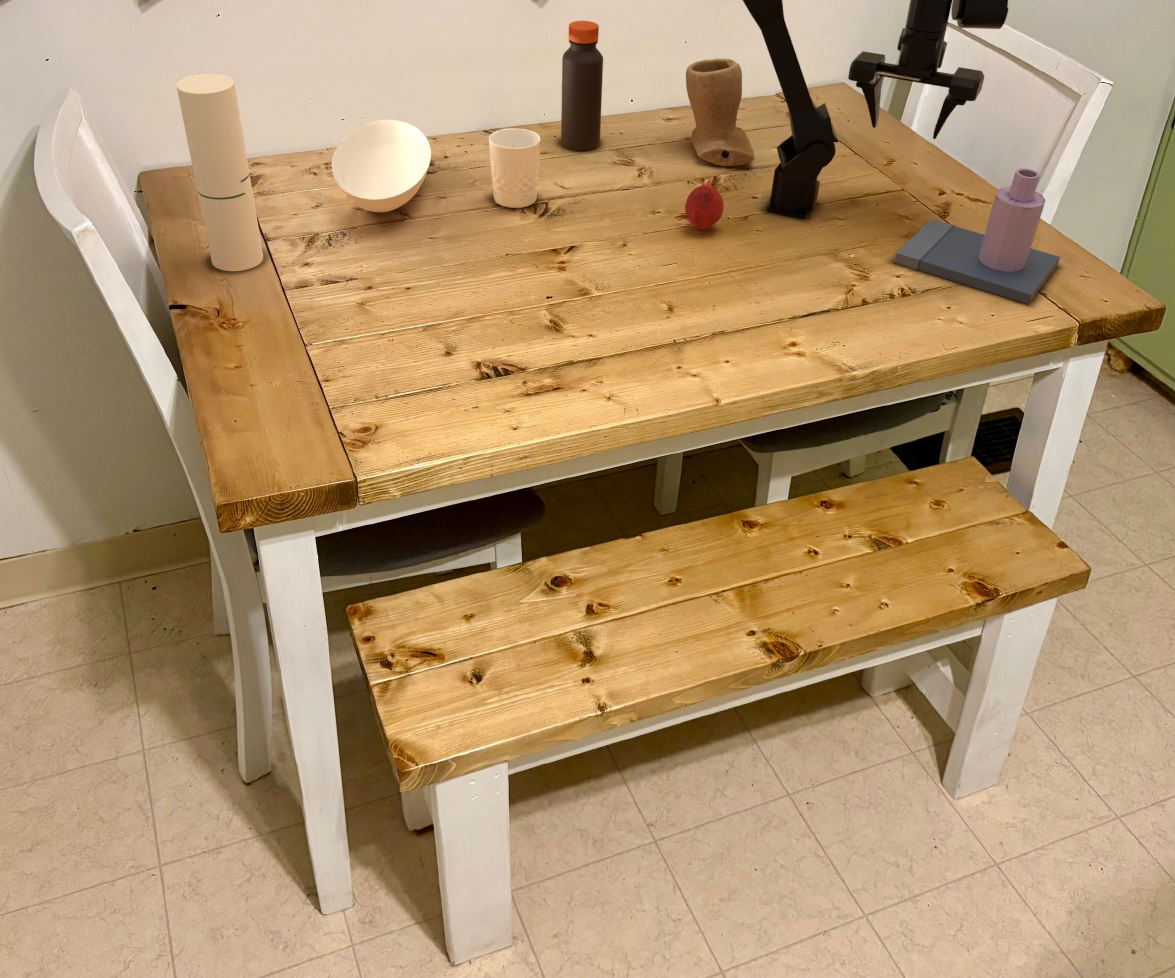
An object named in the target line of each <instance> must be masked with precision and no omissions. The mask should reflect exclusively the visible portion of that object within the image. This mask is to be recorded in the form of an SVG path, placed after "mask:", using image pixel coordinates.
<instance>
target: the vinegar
mask: <svg viewBox="0 0 1175 978" xmlns="http://www.w3.org/2000/svg"><path fill="white" fill-rule="evenodd" d="M599 29H600V26H599V24H598V23H596V22H594V21H591V20H575V21H572V22H570V23H569V24H568V43H569V45H570V47H568V48H567V50H565V52H564V53H563V55H562V62H561V64H562V65H561V66H562V67H561V117H560V118H561V122H560V129H561V130H560V142H561V144H562V146H563V147H565V148H567V149H569V150H573V151H584V152H585V151H591V150H594V149H596V148H597V147H598V146H599V145H600V143H601V124H602V103H603V102H602V100H603V99H602V97H603V77H604V76H603V75H604V73H603V72H604V56H603V54H602V53H601V51H600V50H599V49H598V48H597V44H598V43H599V35H600V33H599V31H600V30H599Z"/></svg>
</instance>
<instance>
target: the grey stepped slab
mask: <svg viewBox="0 0 1175 978" xmlns="http://www.w3.org/2000/svg"><path fill="white" fill-rule="evenodd" d="M984 235H985V233H980V232H977V231H974V230H971V229H967V228H963V227H960V226H956V225H955V224H951V223H948V222H945V221H941V220H938V219H934V218H930V220H928V221H927V222H926V223H925V224H924V225H923V226H922V227H921V228H920V229H919V230H918V231H917V232H916V233H915V234H914V235H913V236H912V237H911V238H910V239H909V240H908V241H907V242H906V243H905V244H904V245H903V246H902V247H901V248H900V249H899V250H898V251H897V252H896V253H895V258H894V263H895V264H897V265H900V266H903V267H907V268H911V269H913V270H915V271H916V270H917V271H920V272H923V273H927V274H930V275H933V276H935V277H939V278H943V279H946V280H949V281H952V282H955V283H959V284H961V285H965V286H968V287H971V288H975V289H977V290H980V291H984V292H988V293H990V294H994V295H997V296H1000V297H1003V298H1007V299H1009V300H1013V301H1016V302H1019V303H1022V304H1026V305H1030V303H1031V302H1032V300H1033V299H1034V297H1035V296H1036V295H1037V294H1038V292H1039V291H1040V290H1041V288H1042V287H1043V286H1044V284H1045V283H1046V282H1047V281H1048V279H1049V278H1050V276H1051V275H1052V274H1053V273H1054V271H1055V270H1056V269H1057V267H1058V265H1059V262H1060V259H1061V256H1059V255H1056V254H1052V253H1049V252H1044V251H1042V250H1038V249H1035V248H1032V247H1031V249H1030V252H1029V255H1028V258H1027V261H1026V264H1025V267H1024V268H1023V269H1022V270H1019V271H1015V272H1004V271H998V270H994V269H991V268H989V267H987V266H985V265H984V264H982V263H981V262H980V260H979V253H980V249H981V246H982V242H983V239H984Z"/></svg>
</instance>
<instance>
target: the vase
mask: <svg viewBox="0 0 1175 978" xmlns="http://www.w3.org/2000/svg"><path fill="white" fill-rule="evenodd" d="M1040 177H1041V174H1040V172H1038V171H1037V170H1034V169H1031V168H1017V169H1016V170H1015V172H1014V175H1013V178H1012V182H1011V186H1006V187H1002V188H999V189H998V190H996V192H995V193H996V194H995V197H994V201H993V204H992V208H991V211H990V214H989V217H988V222H987V225H986V228H985V233H984V239H983V242H982V246H981V249H980V253H979V260H980V262H981V263H982V264H984V265H985V266H987V267H989V268H991V269H994V270H998V271H1004V272H1015V271H1019V270H1022V269H1023V268H1024V267H1025V264H1026V261H1027V258H1028V255H1029V252H1030V249H1031V248H1032V246H1033V243H1034V239H1035V236H1036V232H1037V229H1038V227H1039V224H1040V221H1041V220H1040V219H1041V217H1042V213H1043V210H1044V207H1045V203H1046V198H1045V197H1044V196H1043V195H1042V194H1040V193H1039V192H1037V186H1038V183H1039V180H1040Z"/></svg>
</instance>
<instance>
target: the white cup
mask: <svg viewBox="0 0 1175 978" xmlns="http://www.w3.org/2000/svg"><path fill="white" fill-rule="evenodd" d="M488 145H489V147H488V148H489V160H490V172H491V173H490V174H491V183H492V192H493V199H494V201H495V203H496V204H497V205H499V206H502V207H505V208H509V209H521V208H525V207H529V206H531V205H533V204H535V203H536V201H537V198H538V197H537V196H538V183H539V173H540V158H541V157H540V156H541V136H540V134H538V133H537V132H535V131H533V130H530V129H526V128H519V127H518V128H517V127H516V128H515V127H510V128H503V129H502V128H501V129H498V130H496V131H495V130H494V131H493V132H491V134H489V136H488Z"/></svg>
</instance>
